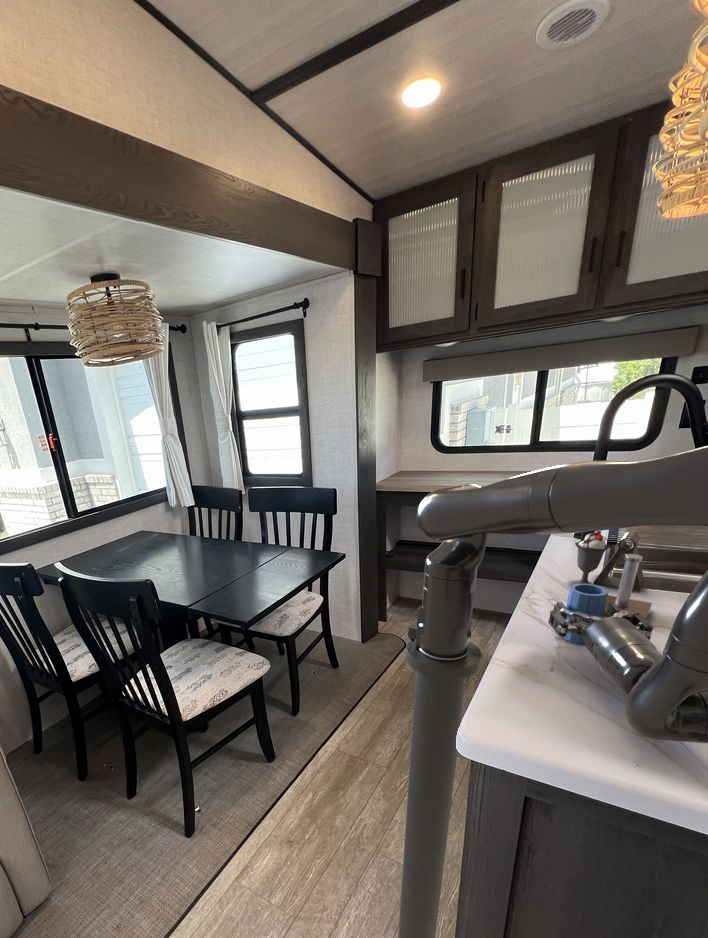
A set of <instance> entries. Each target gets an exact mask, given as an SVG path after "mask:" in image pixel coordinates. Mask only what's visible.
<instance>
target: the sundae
mask: <svg viewBox="0 0 708 938" xmlns="http://www.w3.org/2000/svg"><path fill="white" fill-rule="evenodd" d="M603 538H604V536H603V535H602V531H594V532H590V533H588V534H587V533H585V532H581V536H580V540H579V541H577V542H574V545H575V547H576V548H577V560H576V562H577V564H576V565H577V567H578V568H579V570H580V571H582V575H581V579H580V580H574V581H571V584H570V585H571V586H572V585H575V584H592V585H595V584H594V583H593V582H591V581H589V574H590V573H591V572H594V571H595V570H596V569H598V567H599V565H600V564H601V561H602V559H603V556H604V554H605V552H606V551H608V550H609V549H610V547H611V545H610V544H607V543H606V541H605V540H604V539H603Z"/></svg>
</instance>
